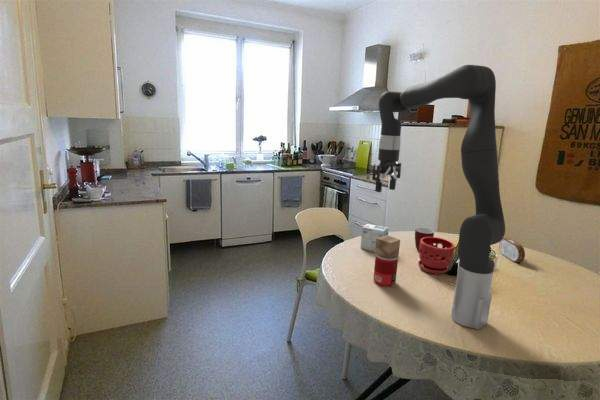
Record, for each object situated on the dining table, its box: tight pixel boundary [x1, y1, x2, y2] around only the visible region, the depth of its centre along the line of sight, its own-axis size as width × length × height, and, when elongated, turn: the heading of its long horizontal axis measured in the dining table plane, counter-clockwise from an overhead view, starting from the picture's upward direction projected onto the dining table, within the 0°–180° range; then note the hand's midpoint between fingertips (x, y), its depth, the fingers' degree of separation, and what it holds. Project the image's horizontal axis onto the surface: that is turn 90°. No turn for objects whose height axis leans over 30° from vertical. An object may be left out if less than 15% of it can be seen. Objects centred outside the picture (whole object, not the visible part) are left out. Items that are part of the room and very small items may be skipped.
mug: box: [414, 227, 435, 253], centre depth 164 cm, size 10×8×10 cm
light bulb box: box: [360, 223, 389, 253], centre depth 163 cm, size 11×7×11 cm, turn 58°
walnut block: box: [374, 234, 401, 259], centre depth 128 cm, size 6×6×6 cm
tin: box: [498, 237, 526, 263], centre depth 158 cm, size 15×3×8 cm, turn 2°
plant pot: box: [417, 236, 456, 275], centre depth 143 cm, size 13×13×12 cm
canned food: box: [373, 254, 399, 288], centre depth 130 cm, size 8×8×11 cm
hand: (385, 190), depth 136 cm, fingers open, 8 cm apart
